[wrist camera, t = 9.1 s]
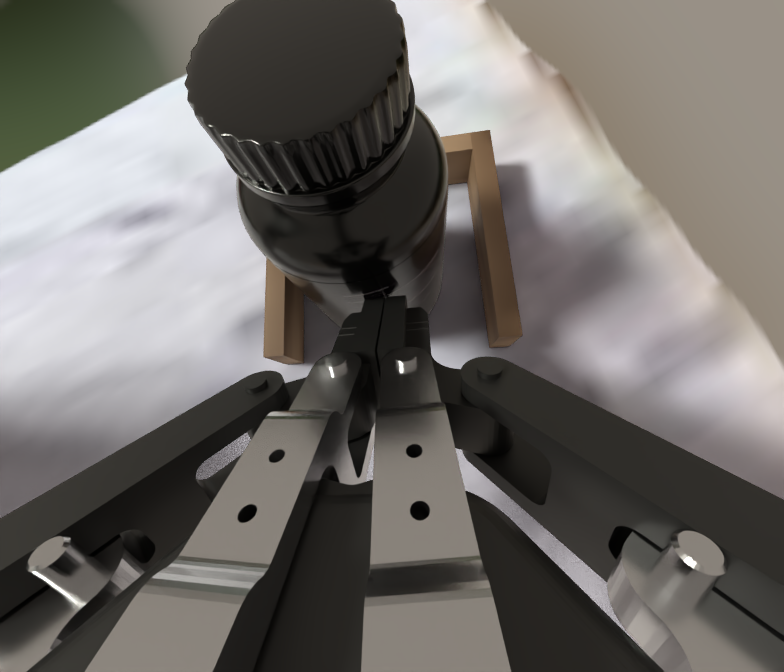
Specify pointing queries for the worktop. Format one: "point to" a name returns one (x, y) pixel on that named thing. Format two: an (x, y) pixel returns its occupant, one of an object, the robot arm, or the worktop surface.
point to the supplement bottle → (327, 147)
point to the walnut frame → (477, 168)
